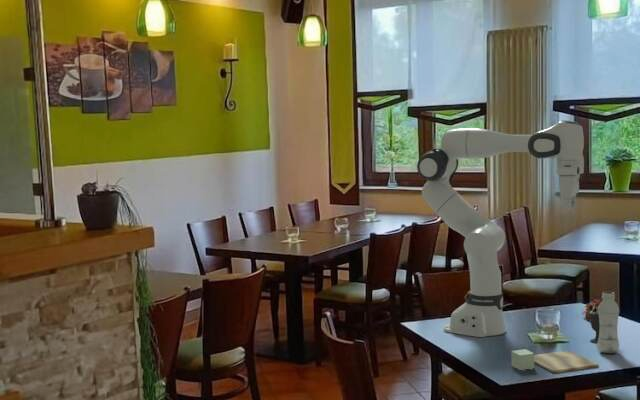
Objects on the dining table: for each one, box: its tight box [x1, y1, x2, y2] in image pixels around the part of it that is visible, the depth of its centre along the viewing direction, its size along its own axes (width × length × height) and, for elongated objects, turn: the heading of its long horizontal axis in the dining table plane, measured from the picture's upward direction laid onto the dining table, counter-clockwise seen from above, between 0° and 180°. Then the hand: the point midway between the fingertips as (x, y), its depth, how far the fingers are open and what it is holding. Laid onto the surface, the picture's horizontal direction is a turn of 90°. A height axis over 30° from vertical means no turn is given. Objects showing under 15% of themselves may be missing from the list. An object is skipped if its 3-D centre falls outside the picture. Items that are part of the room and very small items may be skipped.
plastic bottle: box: [596, 291, 620, 354], centre depth 253 cm, size 6×7×20 cm
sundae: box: [588, 298, 603, 344], centre depth 266 cm, size 7×7×15 cm
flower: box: [581, 298, 603, 319], centre depth 296 cm, size 10×9×8 cm
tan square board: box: [534, 349, 600, 374], centre depth 246 cm, size 16×16×1 cm
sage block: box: [510, 348, 535, 371], centre depth 242 cm, size 5×5×5 cm
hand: (570, 208), depth 265 cm, fingers open, 8 cm apart
